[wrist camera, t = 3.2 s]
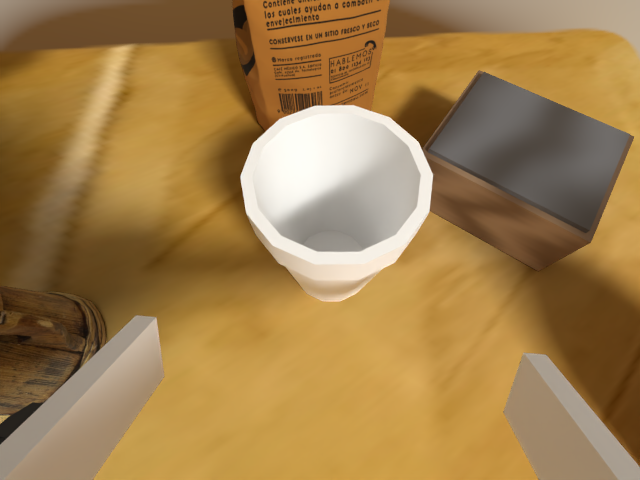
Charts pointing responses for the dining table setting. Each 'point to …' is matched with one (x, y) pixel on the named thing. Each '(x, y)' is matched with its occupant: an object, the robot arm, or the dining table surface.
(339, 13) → the coffee package
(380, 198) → the foam cup
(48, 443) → the robot arm
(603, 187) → the walnut stand
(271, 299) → the dining table surface
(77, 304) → the wooden mug
